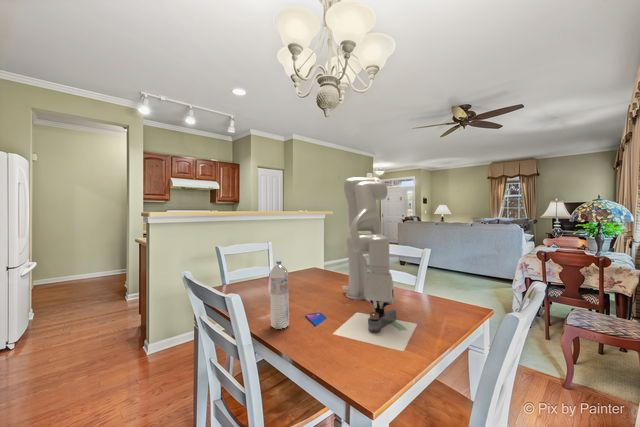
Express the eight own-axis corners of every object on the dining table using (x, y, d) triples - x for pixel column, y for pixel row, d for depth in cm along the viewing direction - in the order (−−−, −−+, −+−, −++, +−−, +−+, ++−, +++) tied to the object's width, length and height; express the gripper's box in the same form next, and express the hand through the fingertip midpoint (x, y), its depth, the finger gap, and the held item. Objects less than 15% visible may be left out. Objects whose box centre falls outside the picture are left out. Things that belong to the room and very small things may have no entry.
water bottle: (274, 331, 98) (272, 263, 98) (268, 324, 104) (267, 260, 104) (291, 327, 102) (290, 261, 101) (285, 321, 108) (284, 258, 107)
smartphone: (318, 330, 99) (304, 314, 112) (318, 332, 99) (304, 317, 112) (336, 326, 102) (320, 312, 115) (336, 328, 102) (320, 314, 115)
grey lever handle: (376, 333, 91) (375, 317, 91) (365, 329, 95) (365, 313, 94) (399, 320, 102) (399, 305, 102) (389, 317, 105) (389, 303, 105)
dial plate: (332, 338, 93) (332, 333, 93) (356, 315, 112) (356, 311, 112) (403, 356, 81) (403, 350, 81) (417, 327, 100) (417, 323, 100)
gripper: (356, 269, 102) (357, 317, 102) (396, 273, 94) (396, 325, 95) (364, 265, 108) (364, 310, 109) (401, 269, 101) (402, 318, 101)
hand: (379, 317), depth 102 cm, fingers closed
